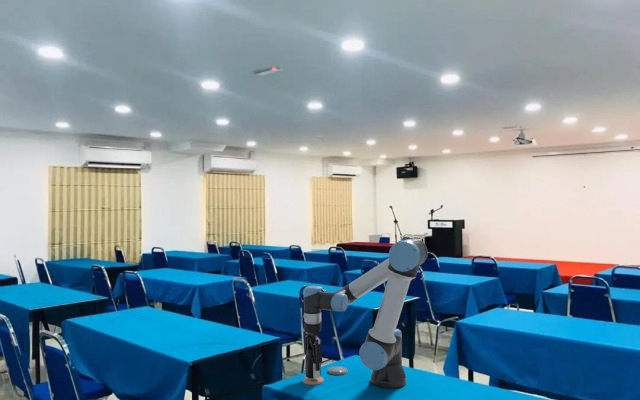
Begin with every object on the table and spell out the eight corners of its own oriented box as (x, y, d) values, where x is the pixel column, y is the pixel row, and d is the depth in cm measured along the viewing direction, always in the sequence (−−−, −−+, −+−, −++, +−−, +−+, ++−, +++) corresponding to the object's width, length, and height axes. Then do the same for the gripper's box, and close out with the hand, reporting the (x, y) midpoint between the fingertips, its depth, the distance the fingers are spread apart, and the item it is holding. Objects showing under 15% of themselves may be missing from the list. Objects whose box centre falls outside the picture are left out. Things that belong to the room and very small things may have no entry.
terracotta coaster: (326, 383, 210) (326, 381, 210) (307, 386, 206) (307, 384, 206) (318, 376, 218) (318, 374, 218) (299, 379, 214) (299, 377, 214)
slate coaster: (350, 373, 222) (350, 371, 222) (333, 376, 218) (333, 374, 218) (341, 367, 230) (341, 365, 230) (324, 370, 226) (324, 368, 226)
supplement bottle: (319, 379, 208) (318, 351, 208) (303, 378, 210) (303, 350, 210) (322, 373, 215) (322, 346, 215) (307, 372, 216) (307, 345, 216)
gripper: (296, 318, 220) (296, 369, 220) (314, 328, 202) (314, 383, 202) (311, 316, 223) (311, 366, 223) (330, 326, 205) (330, 381, 205)
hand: (313, 374), depth 212 cm, fingers closed on supplement bottle, 7 cm apart
